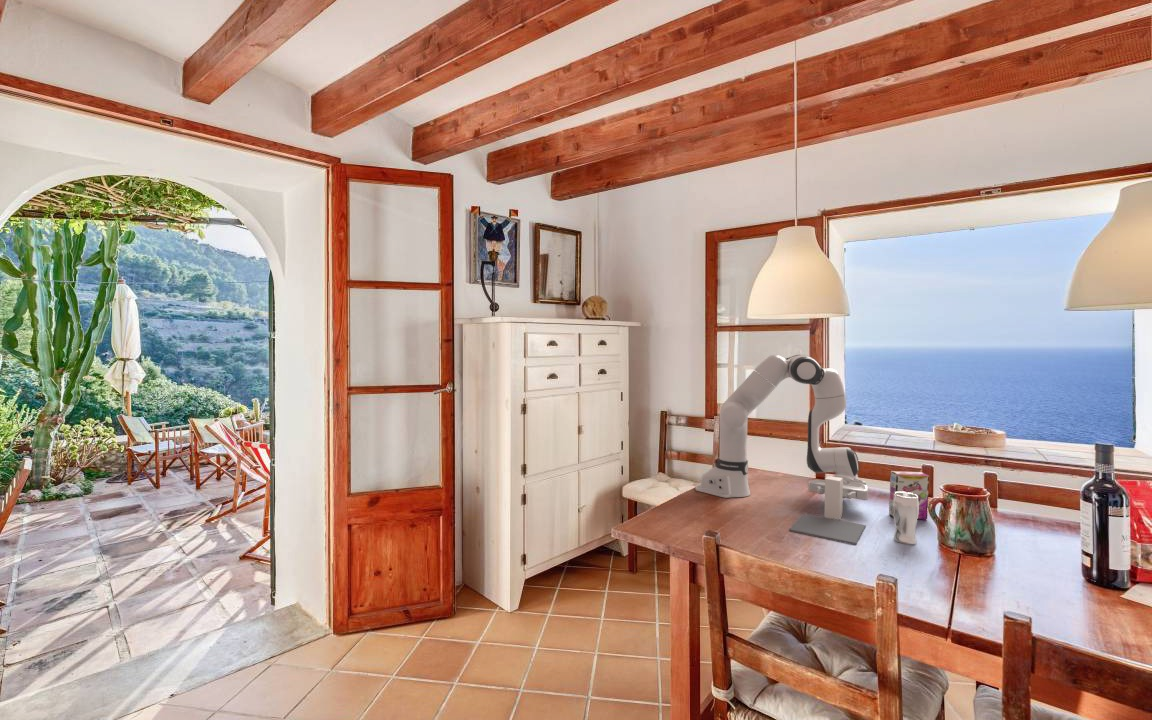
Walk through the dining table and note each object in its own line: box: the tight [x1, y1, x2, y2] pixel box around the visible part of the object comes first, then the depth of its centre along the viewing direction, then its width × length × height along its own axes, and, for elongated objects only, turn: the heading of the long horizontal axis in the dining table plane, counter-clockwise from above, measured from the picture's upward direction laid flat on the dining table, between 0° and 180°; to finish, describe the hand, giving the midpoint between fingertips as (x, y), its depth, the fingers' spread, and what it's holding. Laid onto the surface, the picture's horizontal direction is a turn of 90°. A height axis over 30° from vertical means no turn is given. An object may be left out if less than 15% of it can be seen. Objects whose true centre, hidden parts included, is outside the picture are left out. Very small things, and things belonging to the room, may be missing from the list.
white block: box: [823, 475, 844, 520], centre depth 188 cm, size 5×5×14 cm
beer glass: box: [893, 492, 919, 546], centre depth 165 cm, size 7×7×15 cm
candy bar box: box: [888, 470, 930, 521], centre depth 187 cm, size 11×5×16 cm, turn 84°
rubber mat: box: [788, 513, 866, 546], centre depth 176 cm, size 20×20×1 cm
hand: (834, 494), depth 189 cm, fingers open, 8 cm apart
